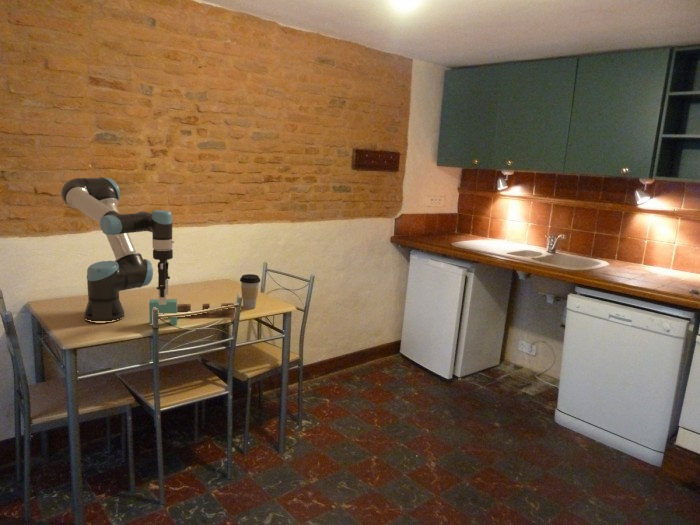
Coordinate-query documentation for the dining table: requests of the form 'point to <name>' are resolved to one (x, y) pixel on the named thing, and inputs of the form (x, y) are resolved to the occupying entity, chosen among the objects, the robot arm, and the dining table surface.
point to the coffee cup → (249, 290)
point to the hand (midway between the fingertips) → (163, 299)
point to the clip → (164, 308)
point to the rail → (222, 313)
